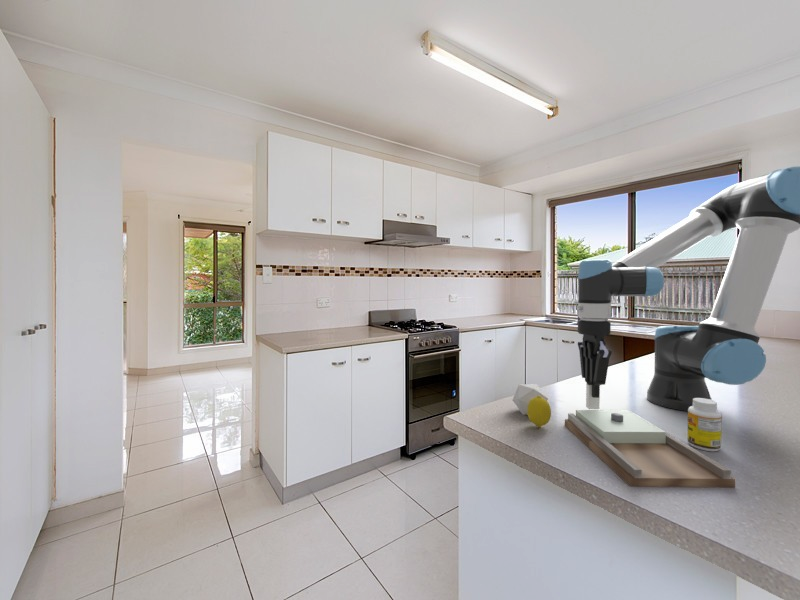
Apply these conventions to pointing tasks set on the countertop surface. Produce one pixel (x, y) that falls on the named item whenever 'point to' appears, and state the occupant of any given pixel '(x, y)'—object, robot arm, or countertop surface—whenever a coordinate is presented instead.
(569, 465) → the countertop surface
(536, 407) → the lemon
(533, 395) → the die
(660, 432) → the slide cover
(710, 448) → the supplement bottle
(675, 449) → the wooden sliding lid box
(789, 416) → the countertop surface
